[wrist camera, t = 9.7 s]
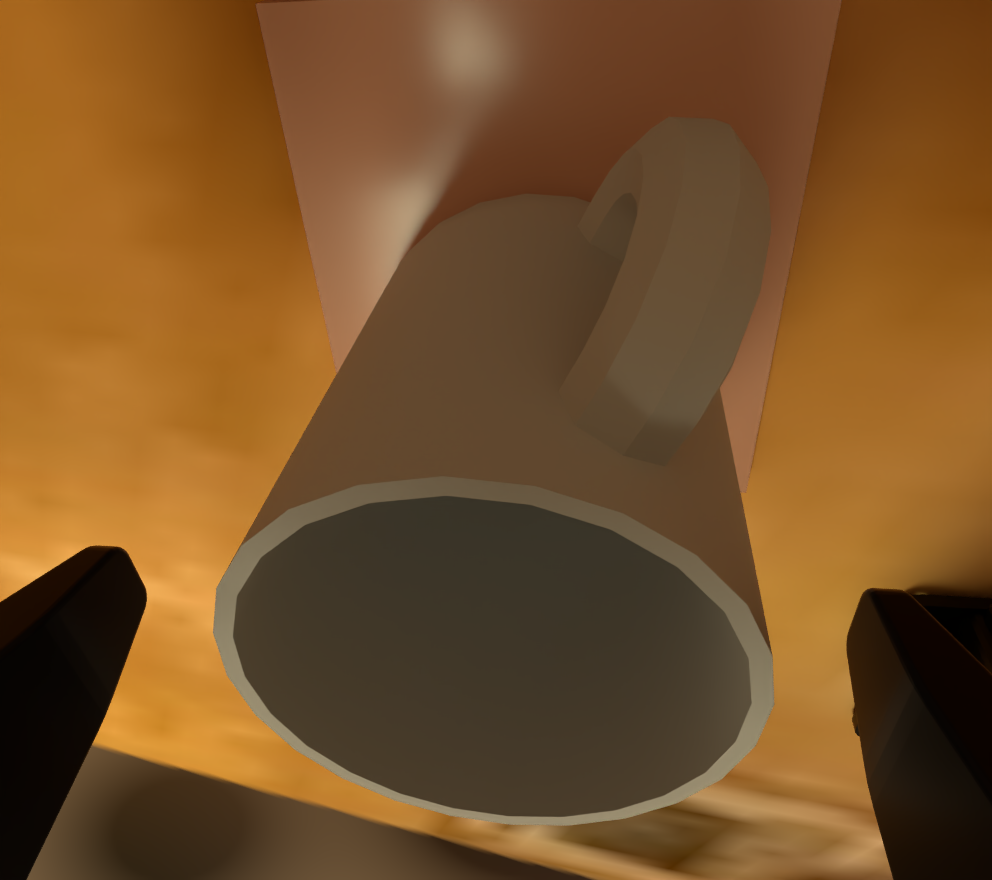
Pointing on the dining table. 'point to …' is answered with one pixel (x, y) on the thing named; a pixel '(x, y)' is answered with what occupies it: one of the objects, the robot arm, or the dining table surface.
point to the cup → (528, 510)
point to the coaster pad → (532, 125)
